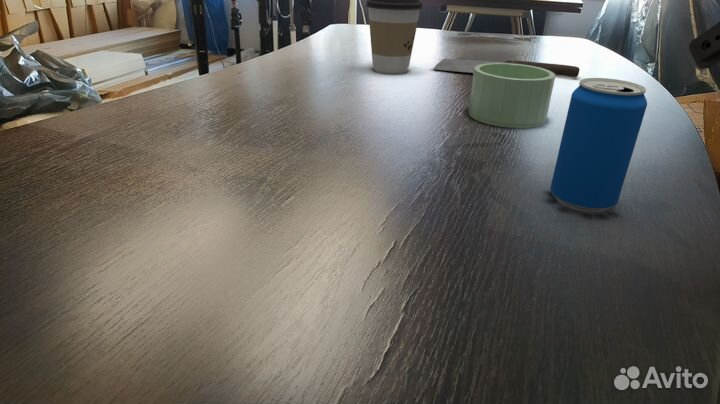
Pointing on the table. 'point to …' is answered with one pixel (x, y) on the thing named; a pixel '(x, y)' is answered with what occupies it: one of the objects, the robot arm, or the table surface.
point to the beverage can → (598, 143)
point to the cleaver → (469, 65)
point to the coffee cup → (392, 33)
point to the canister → (511, 95)
